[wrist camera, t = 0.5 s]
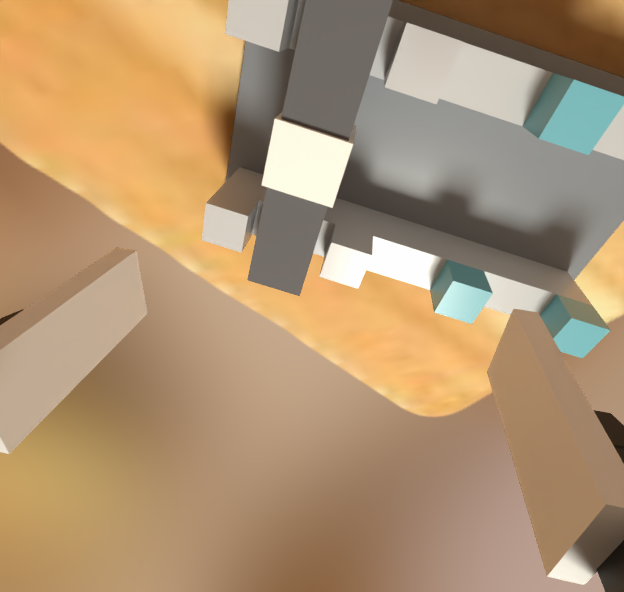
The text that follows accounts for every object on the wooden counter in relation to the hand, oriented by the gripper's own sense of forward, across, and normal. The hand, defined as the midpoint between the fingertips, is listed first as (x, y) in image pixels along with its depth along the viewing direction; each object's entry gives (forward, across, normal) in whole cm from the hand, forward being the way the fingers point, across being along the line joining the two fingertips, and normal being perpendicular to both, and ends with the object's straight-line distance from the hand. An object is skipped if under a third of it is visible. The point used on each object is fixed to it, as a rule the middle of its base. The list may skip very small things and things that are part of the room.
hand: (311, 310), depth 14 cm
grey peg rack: (+23, +6, +1) cm, 23 cm away
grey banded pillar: (+16, -3, +2) cm, 17 cm away
